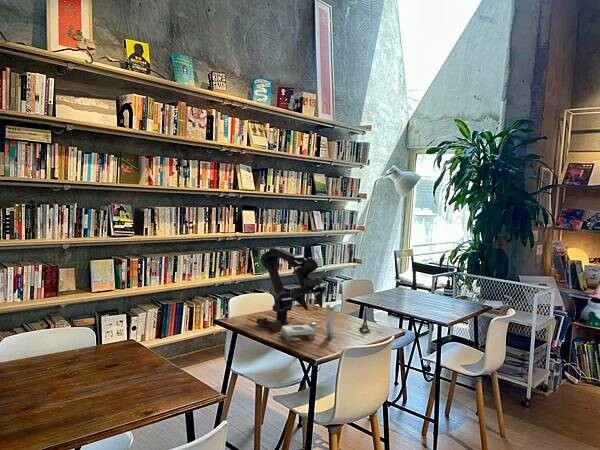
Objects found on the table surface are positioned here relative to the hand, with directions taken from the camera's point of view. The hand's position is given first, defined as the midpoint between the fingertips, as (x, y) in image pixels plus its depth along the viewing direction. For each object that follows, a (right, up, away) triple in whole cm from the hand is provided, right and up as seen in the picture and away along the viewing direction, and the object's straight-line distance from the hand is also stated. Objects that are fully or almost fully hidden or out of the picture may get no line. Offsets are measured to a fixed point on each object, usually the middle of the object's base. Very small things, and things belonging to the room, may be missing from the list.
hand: (314, 308), depth 208 cm
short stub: (-1, -13, +5) cm, 14 cm away
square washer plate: (-8, -13, -3) cm, 15 cm away
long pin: (+7, -13, -3) cm, 15 cm away
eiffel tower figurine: (+26, -14, +10) cm, 31 cm away
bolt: (-23, -12, +10) cm, 28 cm away
